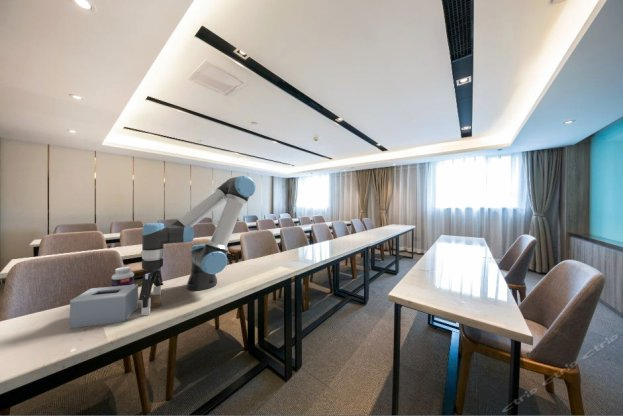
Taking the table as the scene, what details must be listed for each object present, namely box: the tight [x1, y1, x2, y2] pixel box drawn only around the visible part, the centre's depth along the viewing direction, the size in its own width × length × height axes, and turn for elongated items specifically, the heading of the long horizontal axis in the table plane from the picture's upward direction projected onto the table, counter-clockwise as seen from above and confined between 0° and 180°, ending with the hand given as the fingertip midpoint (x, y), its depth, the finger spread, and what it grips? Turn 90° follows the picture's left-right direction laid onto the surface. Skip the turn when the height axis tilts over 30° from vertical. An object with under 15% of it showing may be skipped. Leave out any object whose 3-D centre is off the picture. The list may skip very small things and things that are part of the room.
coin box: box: [69, 283, 139, 329], centre depth 85 cm, size 16×12×10 cm
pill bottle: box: [110, 266, 135, 287], centre depth 102 cm, size 8×8×14 cm
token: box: [150, 293, 163, 310], centre depth 94 cm, size 6×2×5 cm, turn 110°
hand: (151, 307), depth 94 cm, fingers open, 13 cm apart
